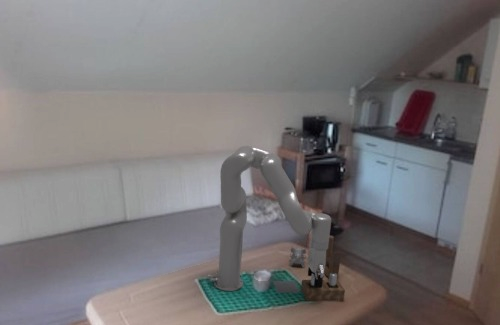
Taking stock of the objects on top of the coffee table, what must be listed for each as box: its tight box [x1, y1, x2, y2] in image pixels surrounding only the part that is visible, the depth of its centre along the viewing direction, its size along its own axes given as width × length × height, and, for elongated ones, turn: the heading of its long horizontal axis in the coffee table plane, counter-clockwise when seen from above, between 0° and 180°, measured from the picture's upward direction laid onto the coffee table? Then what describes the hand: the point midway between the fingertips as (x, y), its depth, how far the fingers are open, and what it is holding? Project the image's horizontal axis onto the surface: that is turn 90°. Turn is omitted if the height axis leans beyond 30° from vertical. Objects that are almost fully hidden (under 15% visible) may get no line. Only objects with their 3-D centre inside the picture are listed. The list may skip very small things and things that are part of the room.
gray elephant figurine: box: [288, 246, 307, 269], centre depth 216 cm, size 9×12×8 cm
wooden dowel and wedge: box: [324, 235, 342, 281], centre depth 205 cm, size 4×11×18 cm, turn 18°
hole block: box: [300, 279, 346, 302], centre depth 188 cm, size 16×9×5 cm, turn 98°
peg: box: [310, 273, 320, 288], centre depth 187 cm, size 3×3×10 cm
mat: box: [272, 280, 301, 294], centre depth 193 cm, size 10×10×1 cm
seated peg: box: [328, 273, 337, 288], centre depth 188 cm, size 3×3×10 cm
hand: (314, 281), depth 186 cm, fingers open, 9 cm apart
